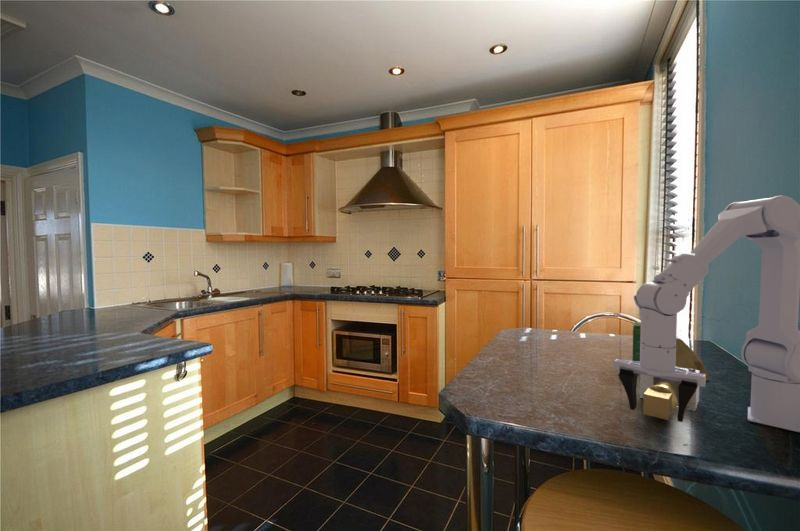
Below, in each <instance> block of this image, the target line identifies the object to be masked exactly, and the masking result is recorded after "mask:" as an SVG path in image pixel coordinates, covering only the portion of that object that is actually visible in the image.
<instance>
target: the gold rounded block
mask: <svg viewBox="0 0 800 531" xmlns="http://www.w3.org/2000/svg"><path fill="white" fill-rule="evenodd" d="M676 396H677V390H676V388H675V386H674V385H672V384H671V383H669V382H666V381H661V382H658V383H657V384H656V385H653V386H650V387H648V388H647V389H646V391H645V392H644V396H643V398H644V399H643V408H642V409H643V413H642V414H643V415H646V416H650V417H654V418H658V419H663V420H665V421H669V419H670V418H671V416H672V413H673V412H674V411H675V410H676V409H677V408H678V407H677V403H678V401H677V397H676Z"/></svg>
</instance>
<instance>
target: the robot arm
mask: <svg viewBox="0 0 800 531" xmlns="http://www.w3.org/2000/svg"><path fill="white" fill-rule="evenodd" d="M717 217H718V218H717V221H716V223H714V225H713V226H712V227H711V229H709V231H708V232H707V233H706V234H705V235H704V236H703V237H702V239H701V240H700V241H699V242H698V243H697V244H696V246H695V247H694V248H693V249H692V250H691V252H689V253H685V252H684V253H680V254H678V255H674V256H673V257H672V258H671V259H670V263H669V264H668V265H667V266H666V267H665V268H664V269H663V270H662V271H661V272H660V273H659V274H656V275H655V276H654V277H653V280H652V281H650V282H646V283H644V284H642V285H640V287H639V288H638V290H637V292H636V294H635V295H633V301H634V303H635V305H636V307H637V308H638V311H639V312H638V313H639V315H638V316H639V317H640V322H641V333H640V362H639V361H632V360H629V359H619V358H616V359H615V360H614V361H613V370H614V371H618V372H619V374H618V379H619V381H620V382H621V384H622V386H623V388H624V391H625V393H626V396H627V399H628V404H629V409H630V410H633V411H635V410H636V409H637V404H638V402H637V401H638V400H637V397H638V396H637V384H638V374H639V375H640V374H643V375H648V376H653V377H658V378H664V379H669V380H674V381H679V382H681V383H680V384H679V386H678V390H679V407H677V408H678V409H677V419H676V420H677V422H681V423H683V421H684V417H685V412H686V410H687V409H686V406H687V404H688V402H689V401H690V399H691V397H692V396H693V394H694V393H695V391H696V389H697V387H698V386H699V388H700V387H701V388H705V387H706V383H707V381H706V374H701V373H696V372H692V371H688V370H684V369H680V368H676V338H677V331H678V330H677V329H678V326H677V325H678V320H677V319H678V313H680V312H681V311H683V310H684V308H685V307H686V306H687V298H688V297H689V295H690V292H691V291H692V290H694V288H695V287H696V286H697V285H698V284H699V283H700V282H701V281H702V280H703V279H704V278H705V277H706V276H707V275H708V274H709V272H710V267H709V266H710V265H709V263H711V262H712V261H713V260H714V259H715V258H717V257H718V256H719V255H720V254H722V253H723V252H724V251H725V250H726V249H727V248H728V247H729V246H731V245H732V244H733V243H734V242H736V241H737V240H738V239H739V238H740V237H743V238H744V239H745V238H746V239H748V240H750V241H752V242H754V243H755V244H756V245H758V246H759V247H760V248H761V267H760V269H761V270H760V285H759V286H760V288H759V307H758V308H759V310H758V325H757V326H756V327H754V328H752V329H750V330H749V331H747V332H746V336H745V342H744V344H743V346H742V348H741V350H740V351H741V352H740V354H741V355H740V356H741V359H742V361H743V363H744V364H745V365H746V366H748V367H747V369H748V372H751V382H750V383H751V386H750V388H751V389H750V406H747V421H748V422H753V423H757V424H760V425H766V426H770V427H775V428H780V429H783V430H788V431H793V432H797V433H800V330H799V314H800V313H799V310H800V204H799V202H797V201H796V200H795V199H793V198H792V197H790V196H787V195H776V196H773V197H769V198H768V197H767V198H759V199H751V200H747V201H734V202H732V203H730V204H728V205H726V207H725V208H724V210H723V211H721V212H720V213H718V216H717Z"/></svg>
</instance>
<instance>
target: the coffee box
mask: <svg viewBox="0 0 800 531" xmlns="http://www.w3.org/2000/svg"><path fill="white" fill-rule="evenodd" d="M640 333H641V321H640V322H639V321H635V322H634V324H633V326H632V360H631V361H639V362H640Z"/></svg>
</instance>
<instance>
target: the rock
mask: <svg viewBox="0 0 800 531" xmlns="http://www.w3.org/2000/svg"><path fill="white" fill-rule="evenodd" d="M704 364H705V363H704V362H703V361H702V360H701V358H700V357H699V356H698V355H697V353H696V352H695V351H694V350H693V349H692V348H691V347H689V346H688V345H687V343H685V342H684V340H682V339H681V338H678V337H676V367H681V368H687V369H689V368H692V369H695V370H699V371H700V373H701V374H706V382H708V381H710V376H709V371H708V369H706V366H705V365H704Z"/></svg>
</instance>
